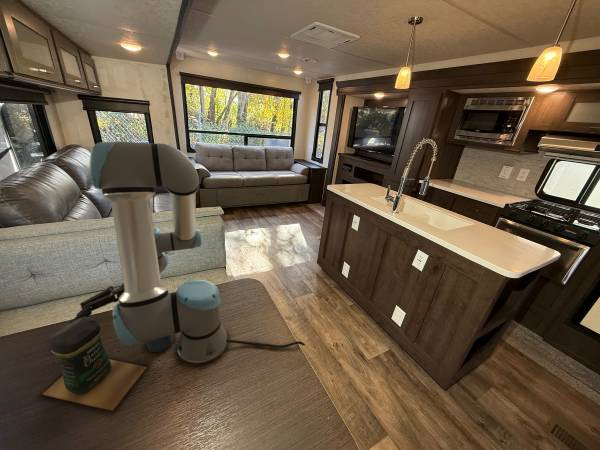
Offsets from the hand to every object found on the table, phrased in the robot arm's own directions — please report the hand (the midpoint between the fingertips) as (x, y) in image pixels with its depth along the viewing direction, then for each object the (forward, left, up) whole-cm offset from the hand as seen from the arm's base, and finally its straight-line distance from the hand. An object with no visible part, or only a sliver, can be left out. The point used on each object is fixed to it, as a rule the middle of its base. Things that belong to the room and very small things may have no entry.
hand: (96, 327), depth 69 cm
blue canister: (-11, -9, -13) cm, 19 cm away
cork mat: (-3, +6, -13) cm, 15 cm away
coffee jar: (-1, +6, -12) cm, 14 cm away
